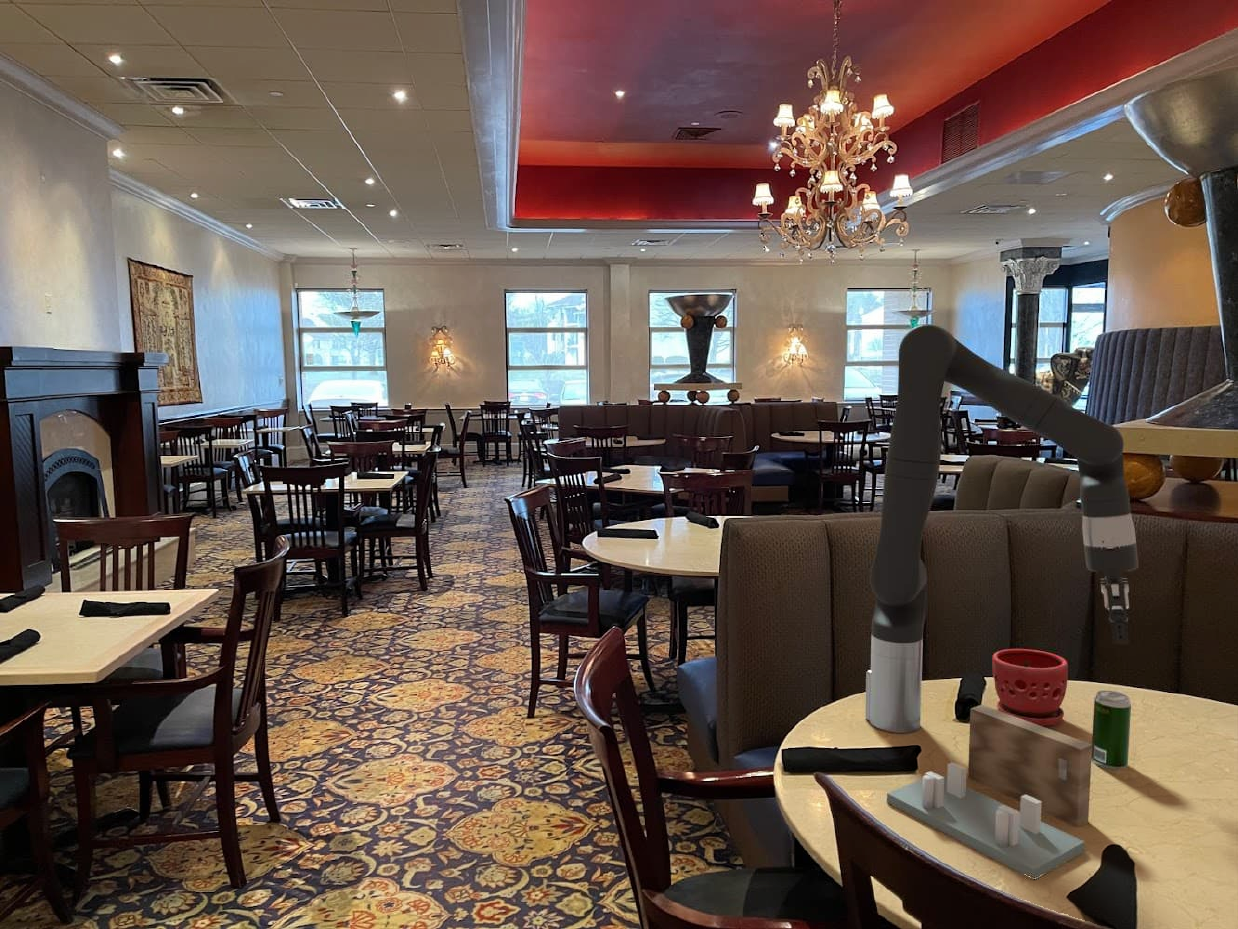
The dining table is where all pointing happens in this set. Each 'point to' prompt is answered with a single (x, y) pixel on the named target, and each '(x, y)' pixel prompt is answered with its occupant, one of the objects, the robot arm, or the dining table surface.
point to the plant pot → (1030, 684)
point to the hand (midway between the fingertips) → (1120, 636)
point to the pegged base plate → (987, 822)
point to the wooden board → (1030, 763)
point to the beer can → (1111, 730)
